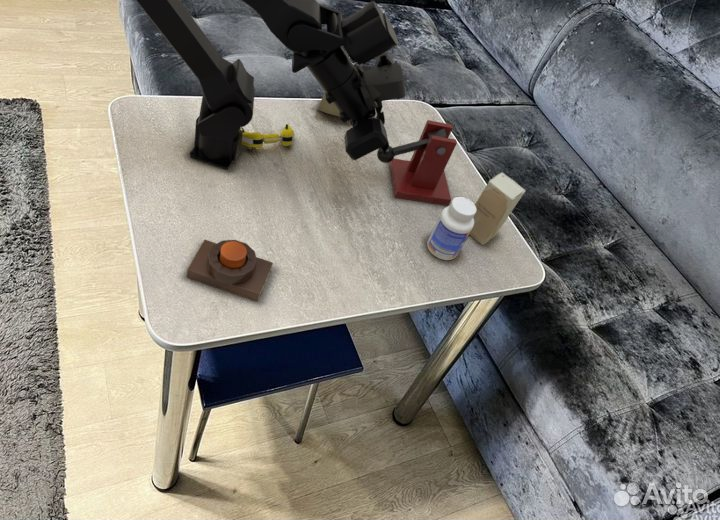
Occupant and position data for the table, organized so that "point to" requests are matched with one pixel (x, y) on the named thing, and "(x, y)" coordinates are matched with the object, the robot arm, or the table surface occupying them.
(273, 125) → the table surface
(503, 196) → the box
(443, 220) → the pill bottle
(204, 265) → the button block
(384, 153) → the black lever handle
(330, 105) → the bowl
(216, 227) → the table surface
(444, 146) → the lever bracket
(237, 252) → the button
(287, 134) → the yellow striped curved toy
